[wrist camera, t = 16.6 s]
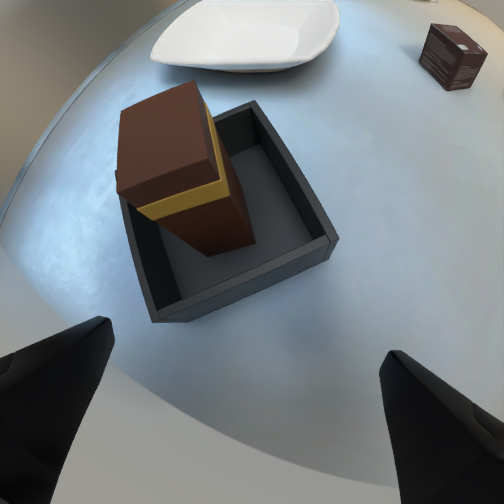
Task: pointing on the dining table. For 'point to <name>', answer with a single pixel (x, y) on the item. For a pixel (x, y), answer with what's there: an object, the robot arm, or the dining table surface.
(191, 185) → the chocolate carton
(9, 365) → the robot arm
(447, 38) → the box
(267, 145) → the open storage bin
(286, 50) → the bowl
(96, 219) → the dining table surface
